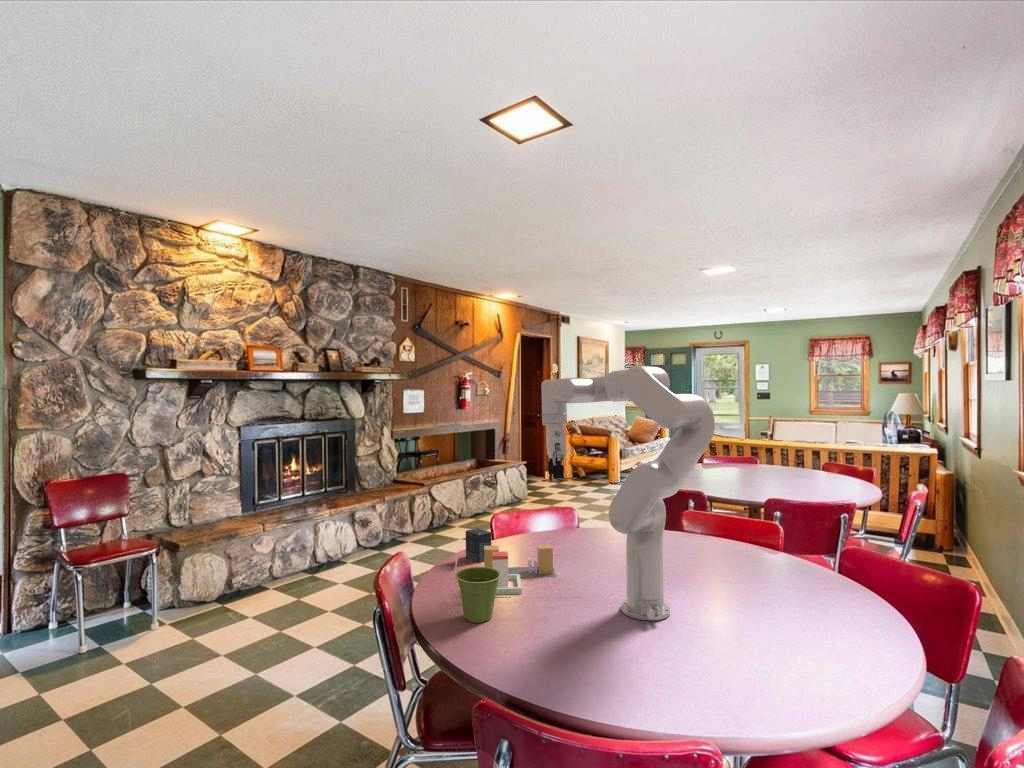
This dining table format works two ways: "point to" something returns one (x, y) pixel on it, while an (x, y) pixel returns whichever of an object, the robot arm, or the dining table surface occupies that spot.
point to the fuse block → (540, 567)
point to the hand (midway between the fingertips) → (555, 476)
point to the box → (477, 544)
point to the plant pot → (478, 592)
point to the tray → (511, 589)
